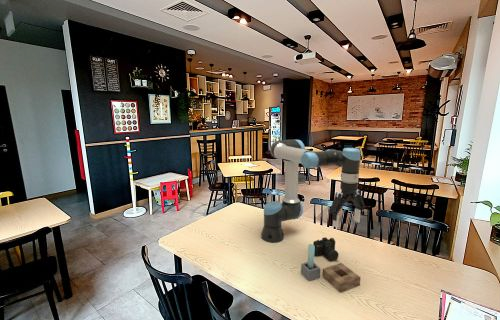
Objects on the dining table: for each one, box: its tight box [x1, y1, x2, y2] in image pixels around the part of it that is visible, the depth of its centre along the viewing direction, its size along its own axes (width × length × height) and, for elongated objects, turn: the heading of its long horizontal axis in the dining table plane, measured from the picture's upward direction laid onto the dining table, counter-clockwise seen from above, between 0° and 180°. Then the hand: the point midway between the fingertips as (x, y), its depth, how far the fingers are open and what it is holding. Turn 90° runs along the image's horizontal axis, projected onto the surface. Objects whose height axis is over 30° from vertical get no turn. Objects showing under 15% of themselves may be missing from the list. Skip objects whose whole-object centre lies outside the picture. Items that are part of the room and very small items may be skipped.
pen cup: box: [300, 261, 321, 282], centre depth 117 cm, size 7×7×6 cm
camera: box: [312, 236, 340, 262], centre depth 133 cm, size 14×11×10 cm
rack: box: [321, 262, 361, 294], centre depth 113 cm, size 12×12×5 cm
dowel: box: [307, 243, 315, 270], centre depth 116 cm, size 3×3×16 cm
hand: (346, 224), depth 113 cm, fingers open, 13 cm apart
